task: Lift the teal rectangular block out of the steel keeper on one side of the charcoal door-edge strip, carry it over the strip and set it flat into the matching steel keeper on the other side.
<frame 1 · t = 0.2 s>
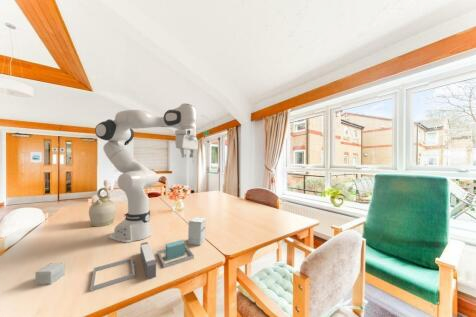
hand: (187, 157, 100), 47 cm above the table, tool pointing down, fingers open, 8 cm apart
small box: (50, 280, 67), on the table
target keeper: (114, 273, 71), on the table
jug: (102, 223, 124), on the table
supplement box: (196, 242, 100), on the table
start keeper: (175, 255, 85), on the table
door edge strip: (147, 263, 78), on the table
teal rectangular block: (175, 256, 85), resting in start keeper
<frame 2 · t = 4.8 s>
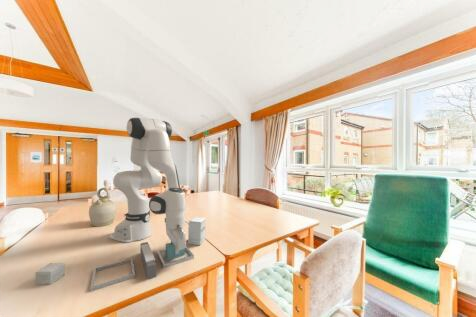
hand: (175, 250, 85), 2 cm above the table, tool pointing down, fingers closed on teal rectangular block, 4 cm apart
teal rectangular block: (175, 255, 85), resting in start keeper, touching gripper
everything else where it was.
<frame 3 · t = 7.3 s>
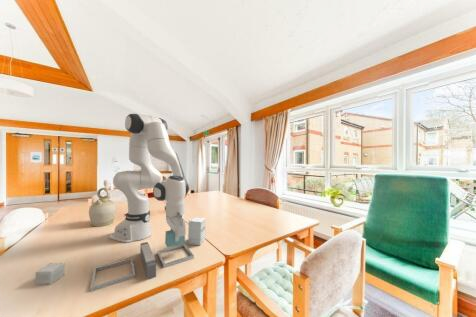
hand: (175, 238, 85), 8 cm above the table, tool pointing down, fingers closed on teal rectangular block, 4 cm apart
teal rectangular block: (175, 243, 85), point 6 cm above the table, touching gripper
everything else where it was.
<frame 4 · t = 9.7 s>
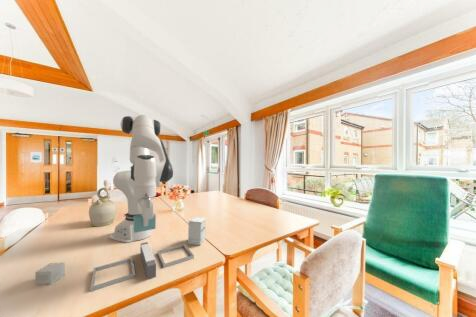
hand: (144, 223, 77), 18 cm above the table, tool pointing down, fingers closed on teal rectangular block, 4 cm apart
teal rectangular block: (144, 229, 77), point 16 cm above the table, touching gripper
everything else where it was.
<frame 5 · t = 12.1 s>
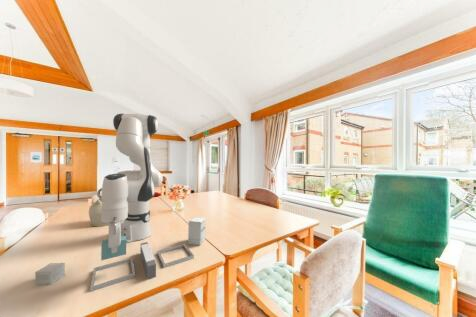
hand: (114, 249, 71), 10 cm above the table, tool pointing down, fingers closed on teal rectangular block, 4 cm apart
teal rectangular block: (114, 255, 71), point 8 cm above the table, touching gripper
everything else where it was.
when the fingers open (3 cm above the table, at t = 14.3 s): teal rectangular block drops 1 cm, resting in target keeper.
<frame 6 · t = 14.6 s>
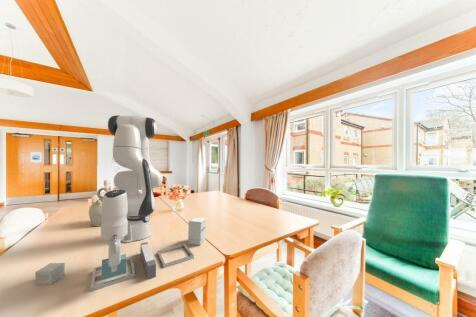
hand: (114, 265, 71), 3 cm above the table, tool pointing down, fingers open, 6 cm apart
teal rectangular block: (114, 274, 71), resting in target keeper
everything else where it was.
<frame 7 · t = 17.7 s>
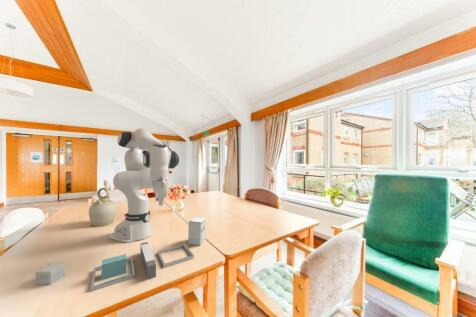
hand: (159, 203, 91), 24 cm above the table, tool pointing down, fingers open, 8 cm apart
nothing on the table moved.
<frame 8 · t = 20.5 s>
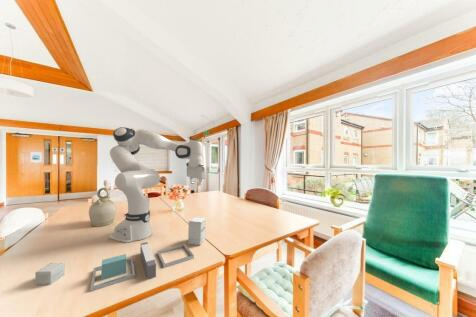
hand: (195, 184, 119), 29 cm above the table, tool pointing down, fingers open, 8 cm apart
nothing on the table moved.
at the end: teal rectangular block 0.1 cm off-centre on the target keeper, point 0.0 cm above the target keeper's base; teal rectangular block tilted 0°; the gripper is holding nothing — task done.
